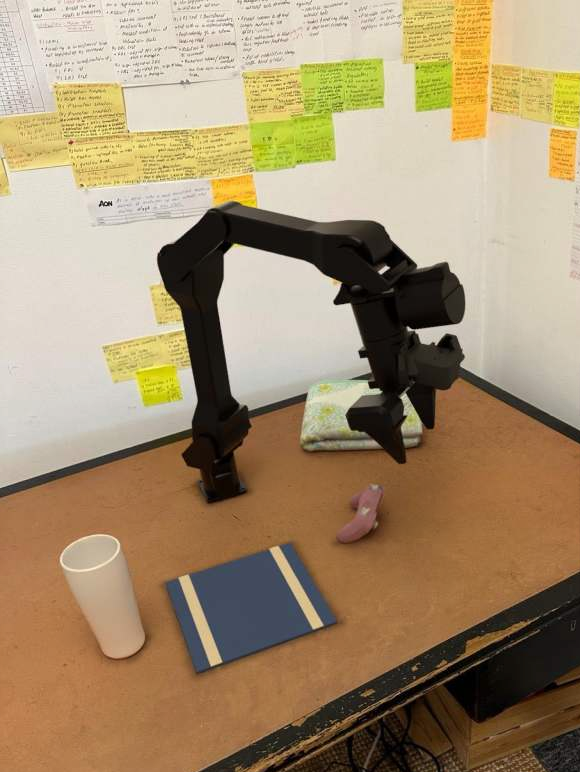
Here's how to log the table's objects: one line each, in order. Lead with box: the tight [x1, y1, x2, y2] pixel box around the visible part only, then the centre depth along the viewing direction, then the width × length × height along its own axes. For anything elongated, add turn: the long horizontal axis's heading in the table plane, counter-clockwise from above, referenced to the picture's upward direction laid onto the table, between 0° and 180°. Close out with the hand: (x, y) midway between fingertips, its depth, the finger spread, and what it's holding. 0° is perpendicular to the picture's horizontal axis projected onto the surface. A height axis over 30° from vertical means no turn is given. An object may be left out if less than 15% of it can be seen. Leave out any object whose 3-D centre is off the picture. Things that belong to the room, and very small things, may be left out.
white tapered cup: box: [59, 533, 146, 660], centre depth 88 cm, size 7×7×15 cm
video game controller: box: [336, 483, 386, 544], centre depth 108 cm, size 10×5×7 cm, turn 168°
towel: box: [299, 379, 423, 452], centre depth 132 cm, size 18×21×5 cm
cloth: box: [165, 542, 338, 675], centre depth 98 cm, size 18×18×1 cm
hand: (417, 445), depth 98 cm, fingers open, 9 cm apart
